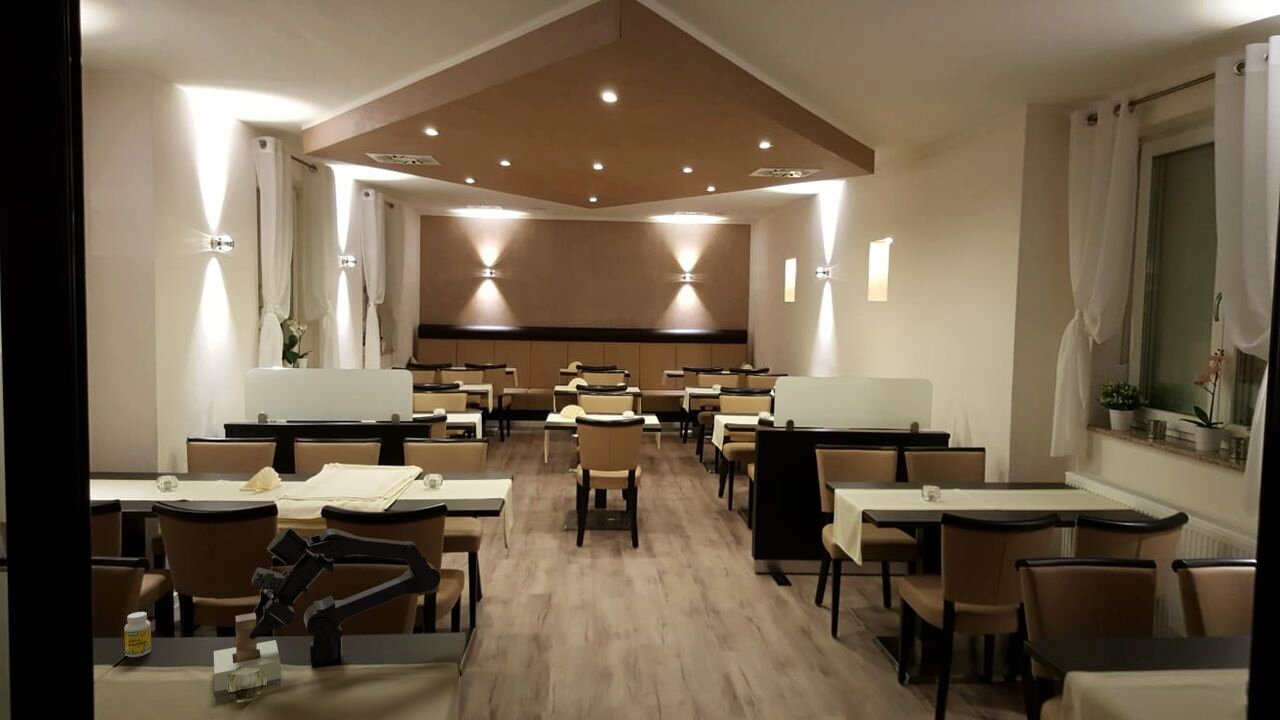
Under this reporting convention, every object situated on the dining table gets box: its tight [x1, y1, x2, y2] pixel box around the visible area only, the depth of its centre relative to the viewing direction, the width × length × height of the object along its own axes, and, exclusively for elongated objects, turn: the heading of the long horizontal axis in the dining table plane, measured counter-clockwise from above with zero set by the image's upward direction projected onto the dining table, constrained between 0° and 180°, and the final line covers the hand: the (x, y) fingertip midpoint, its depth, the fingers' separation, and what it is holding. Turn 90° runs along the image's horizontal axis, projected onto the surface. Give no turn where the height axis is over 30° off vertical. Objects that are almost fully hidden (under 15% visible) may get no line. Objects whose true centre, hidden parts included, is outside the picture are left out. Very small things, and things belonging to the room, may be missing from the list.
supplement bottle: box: [123, 611, 152, 658], centre depth 187 cm, size 5×5×10 cm
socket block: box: [213, 639, 282, 697], centre depth 175 cm, size 13×13×5 cm
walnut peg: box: [235, 612, 258, 663], centre depth 174 cm, size 4×4×13 cm
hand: (249, 630), depth 174 cm, fingers open, 9 cm apart
